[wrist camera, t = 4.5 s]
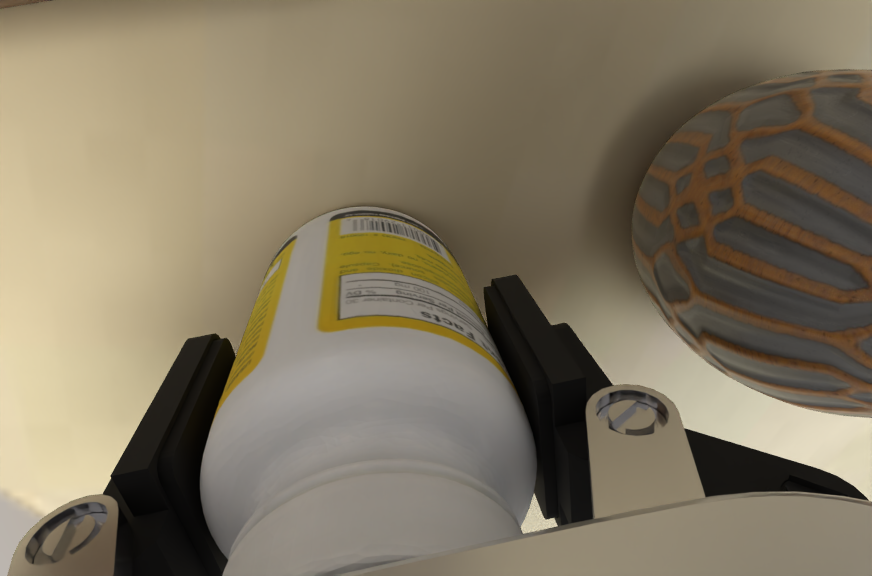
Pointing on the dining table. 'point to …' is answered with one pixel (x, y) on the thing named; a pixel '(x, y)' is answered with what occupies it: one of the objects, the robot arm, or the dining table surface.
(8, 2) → the socket board
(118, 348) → the dining table surface
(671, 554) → the robot arm
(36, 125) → the dining table surface
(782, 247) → the vase
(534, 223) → the dining table surface
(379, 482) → the supplement bottle
